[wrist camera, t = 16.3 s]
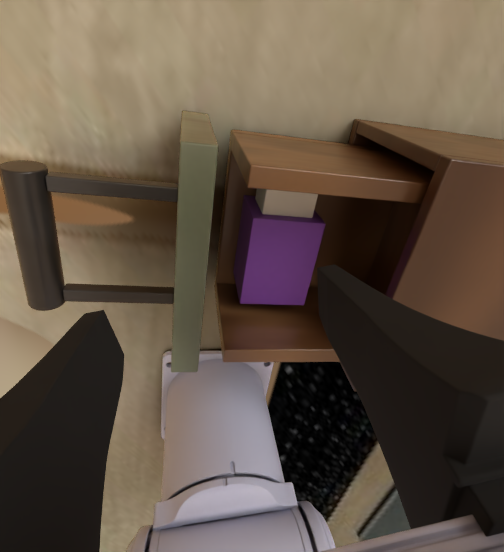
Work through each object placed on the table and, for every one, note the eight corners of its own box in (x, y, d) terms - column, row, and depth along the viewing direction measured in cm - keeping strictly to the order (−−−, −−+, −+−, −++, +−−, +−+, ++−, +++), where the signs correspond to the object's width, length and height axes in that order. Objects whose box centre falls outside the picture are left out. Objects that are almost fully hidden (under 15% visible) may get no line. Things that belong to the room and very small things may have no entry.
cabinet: (306, 295, 24) (353, 391, 18) (354, 118, 19) (451, 158, 12) (472, 300, 27) (569, 386, 20) (558, 147, 21) (733, 194, 15)
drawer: (62, 286, 20) (15, 374, 15) (32, 90, 15) (-56, 113, 10) (362, 296, 24) (413, 370, 19) (418, 141, 19) (513, 179, 14)
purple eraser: (290, 275, 21) (304, 305, 19) (233, 272, 20) (239, 304, 18) (313, 173, 18) (334, 193, 16) (247, 166, 17) (257, 186, 15)
